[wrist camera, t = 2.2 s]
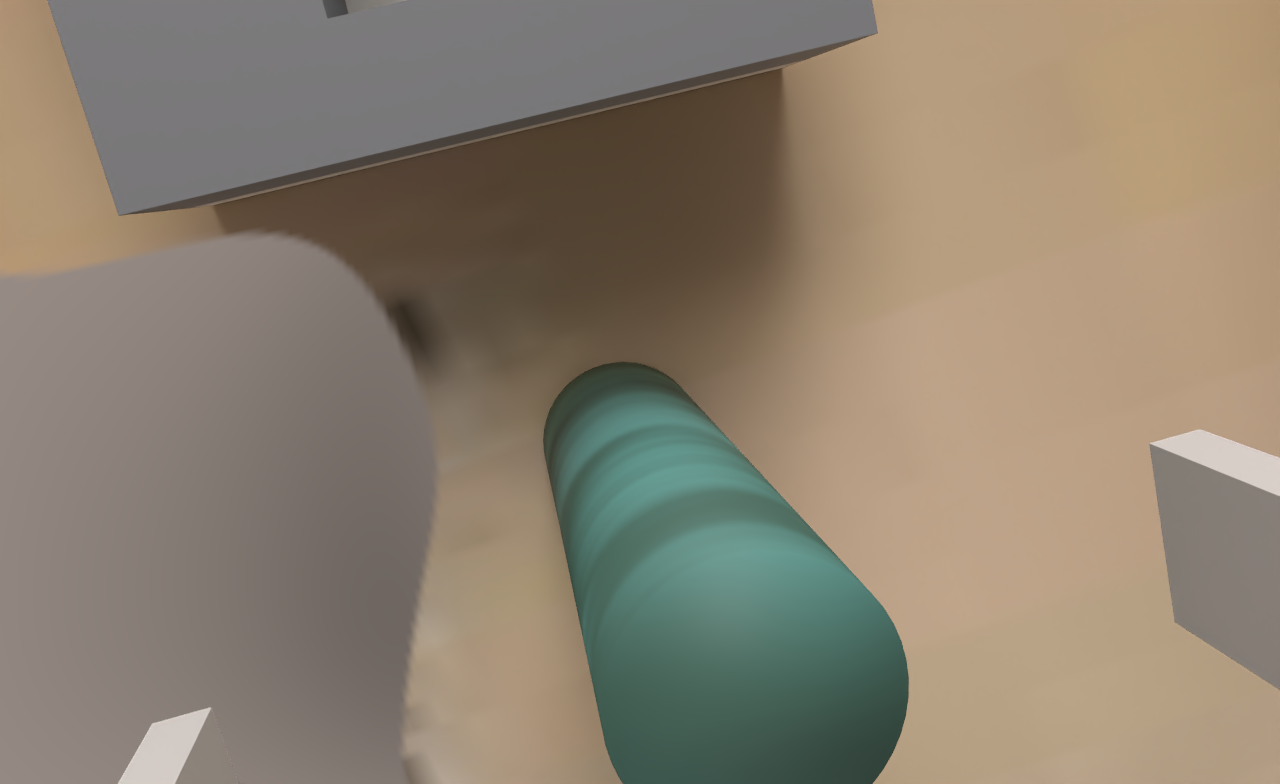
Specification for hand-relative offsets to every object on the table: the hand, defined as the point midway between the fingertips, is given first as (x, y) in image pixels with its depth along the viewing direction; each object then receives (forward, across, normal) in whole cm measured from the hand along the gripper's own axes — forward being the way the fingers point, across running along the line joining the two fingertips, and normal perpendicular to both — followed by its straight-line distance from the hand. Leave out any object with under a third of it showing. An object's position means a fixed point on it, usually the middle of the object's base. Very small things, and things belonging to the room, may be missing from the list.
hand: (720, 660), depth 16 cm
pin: (+14, 0, 0) cm, 14 cm away
